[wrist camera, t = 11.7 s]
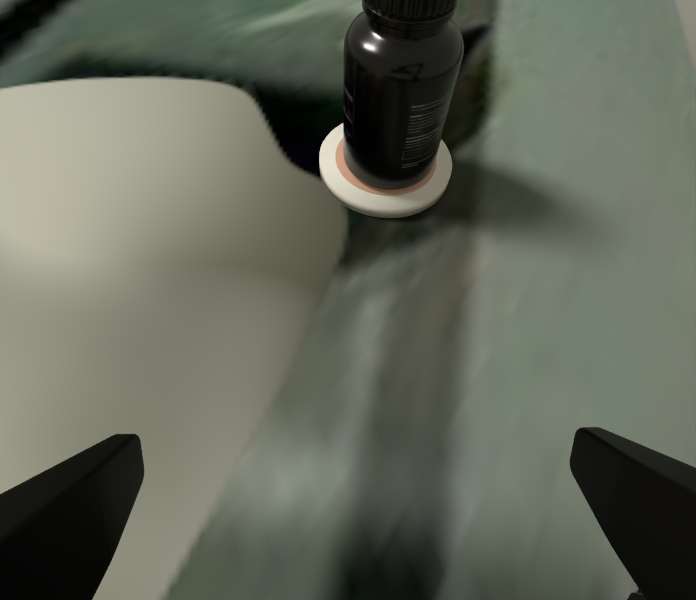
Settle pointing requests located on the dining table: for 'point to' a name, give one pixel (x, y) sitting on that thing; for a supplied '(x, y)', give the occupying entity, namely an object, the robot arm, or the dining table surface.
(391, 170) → the supplement bottle
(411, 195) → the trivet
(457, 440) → the dining table surface
